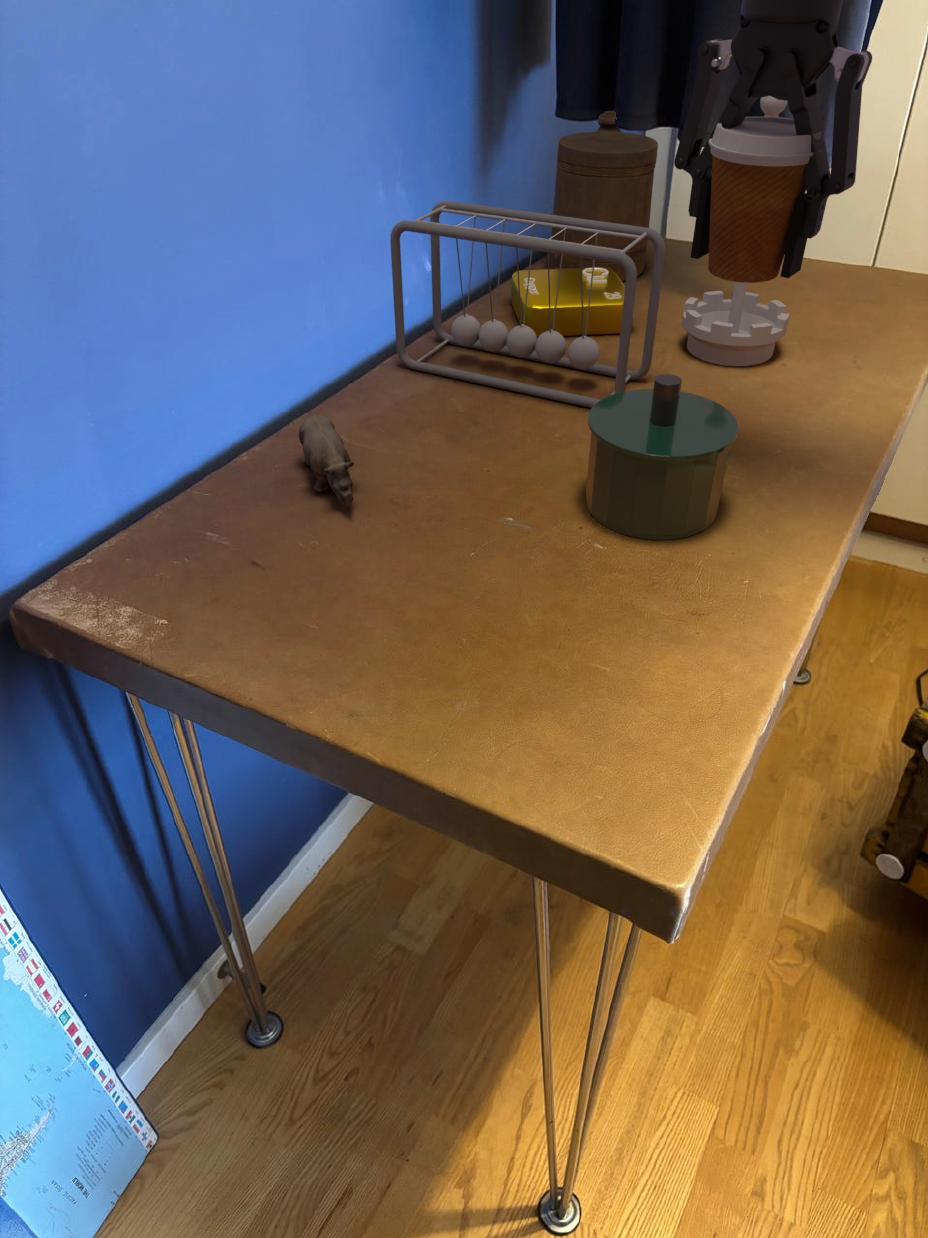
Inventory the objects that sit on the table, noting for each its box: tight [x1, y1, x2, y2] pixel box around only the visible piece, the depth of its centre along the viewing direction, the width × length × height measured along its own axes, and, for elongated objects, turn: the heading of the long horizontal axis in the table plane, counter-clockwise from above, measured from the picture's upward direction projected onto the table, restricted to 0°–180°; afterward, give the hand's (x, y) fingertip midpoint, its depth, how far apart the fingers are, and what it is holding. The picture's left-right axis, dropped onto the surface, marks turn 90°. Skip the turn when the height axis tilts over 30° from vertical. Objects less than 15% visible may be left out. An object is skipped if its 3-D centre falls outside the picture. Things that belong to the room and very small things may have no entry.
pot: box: [585, 431, 731, 541], centre depth 87 cm, size 13×13×8 cm
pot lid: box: [587, 373, 740, 461], centre depth 83 cm, size 14×14×5 cm
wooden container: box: [549, 110, 659, 282], centre depth 137 cm, size 15×15×22 cm
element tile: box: [510, 267, 625, 338], centre depth 127 cm, size 15×15×5 cm
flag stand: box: [681, 96, 791, 367], centre depth 109 cm, size 13×13×30 cm
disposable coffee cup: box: [707, 116, 823, 284], centre depth 80 cm, size 10×10×12 cm
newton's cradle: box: [389, 200, 666, 409], centre depth 108 cm, size 30×10×18 cm, turn 62°
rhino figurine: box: [298, 413, 355, 507], centre depth 90 cm, size 4×14×6 cm, turn 21°
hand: (744, 263), depth 83 cm, fingers closed on disposable coffee cup, 8 cm apart
